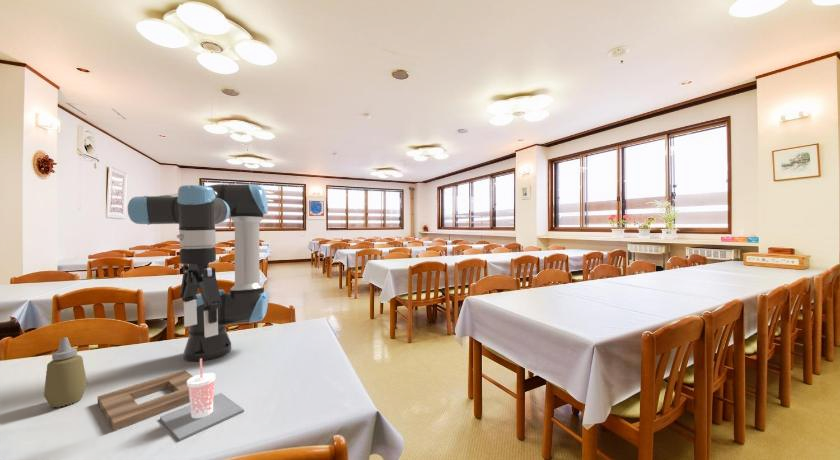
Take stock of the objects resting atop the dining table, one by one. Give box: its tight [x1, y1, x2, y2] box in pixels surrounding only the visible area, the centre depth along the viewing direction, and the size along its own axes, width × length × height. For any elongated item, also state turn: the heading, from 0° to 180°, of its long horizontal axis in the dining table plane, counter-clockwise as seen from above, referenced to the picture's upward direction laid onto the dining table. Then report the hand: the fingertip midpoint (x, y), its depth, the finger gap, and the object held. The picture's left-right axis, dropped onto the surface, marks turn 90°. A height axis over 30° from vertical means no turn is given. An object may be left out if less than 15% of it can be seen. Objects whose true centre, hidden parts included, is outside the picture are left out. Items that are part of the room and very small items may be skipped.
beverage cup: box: [187, 358, 217, 418], centre depth 82 cm, size 6×6×14 cm
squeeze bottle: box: [43, 337, 88, 408], centre depth 89 cm, size 8×8×18 cm
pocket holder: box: [97, 369, 194, 432], centre depth 90 cm, size 20×20×2 cm
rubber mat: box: [159, 392, 245, 442], centre depth 82 cm, size 14×14×1 cm
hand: (200, 330), depth 82 cm, fingers open, 13 cm apart
